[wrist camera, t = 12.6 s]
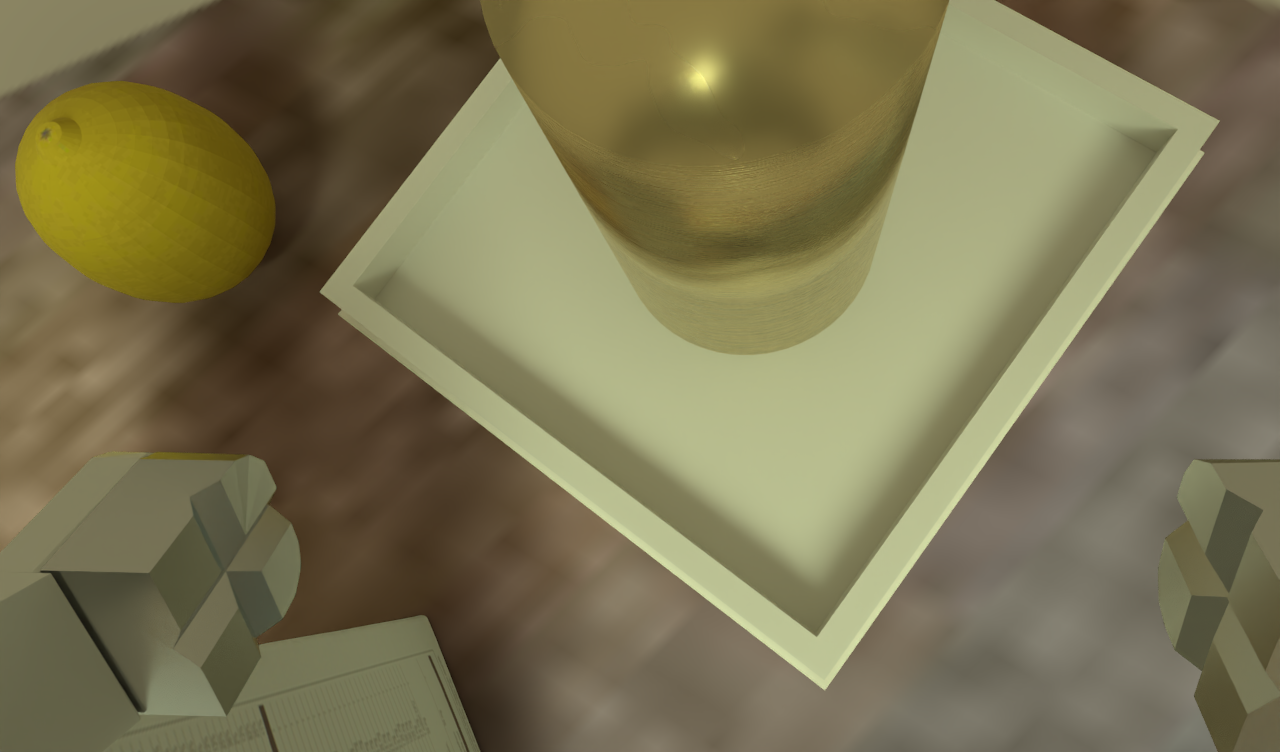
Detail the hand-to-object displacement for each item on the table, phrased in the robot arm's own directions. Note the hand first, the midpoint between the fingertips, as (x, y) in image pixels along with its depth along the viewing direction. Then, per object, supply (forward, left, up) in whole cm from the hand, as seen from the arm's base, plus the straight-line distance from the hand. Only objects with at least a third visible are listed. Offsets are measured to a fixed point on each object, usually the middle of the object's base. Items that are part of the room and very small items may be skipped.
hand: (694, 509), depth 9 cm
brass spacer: (+4, -6, -13) cm, 15 cm away
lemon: (+18, +2, -18) cm, 26 cm away
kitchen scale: (+4, -6, -17) cm, 19 cm away
